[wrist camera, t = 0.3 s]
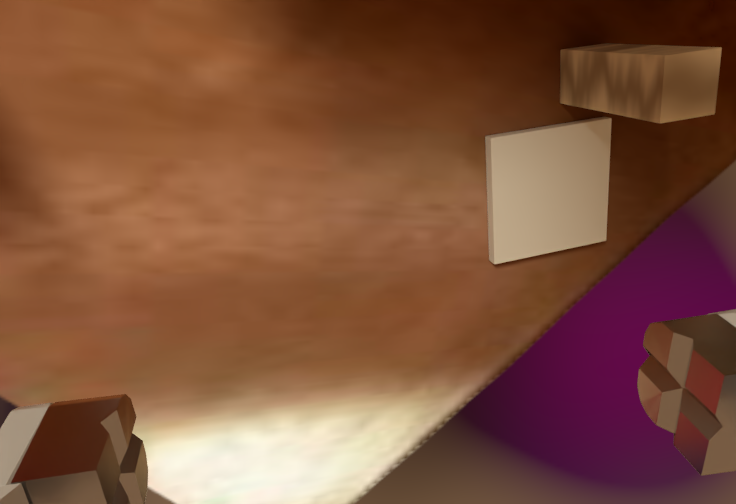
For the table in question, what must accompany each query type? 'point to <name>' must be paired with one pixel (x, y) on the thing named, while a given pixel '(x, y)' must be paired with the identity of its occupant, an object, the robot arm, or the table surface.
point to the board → (547, 188)
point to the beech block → (641, 80)
